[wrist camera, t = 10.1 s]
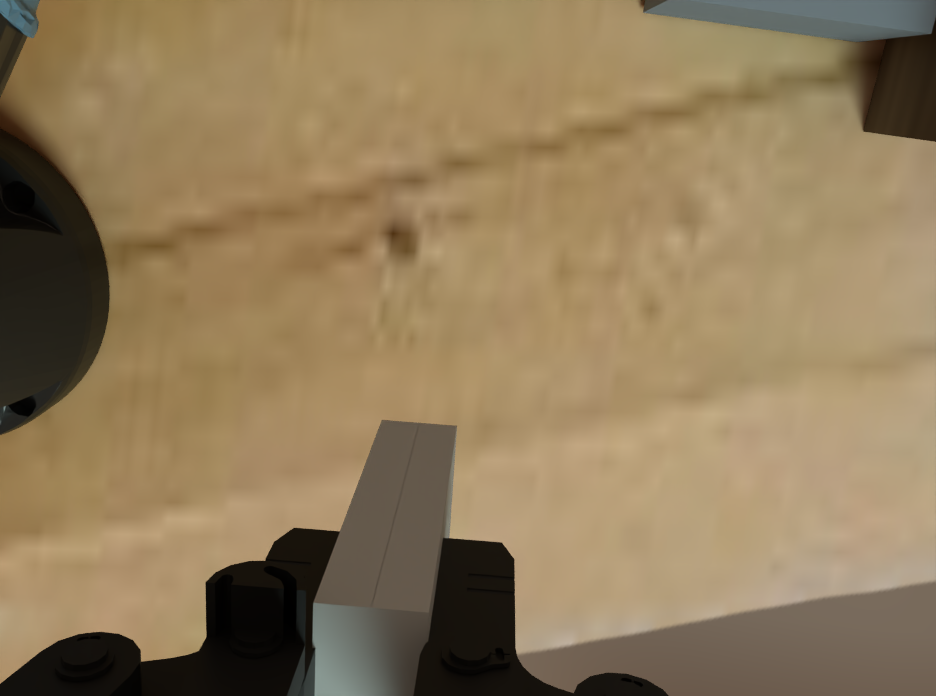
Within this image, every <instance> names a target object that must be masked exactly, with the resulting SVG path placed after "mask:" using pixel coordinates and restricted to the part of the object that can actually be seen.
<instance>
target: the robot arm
mask: <svg viewBox="0 0 936 696" xmlns="http://www.w3.org/2000/svg"><path fill="white" fill-rule="evenodd" d="M39 1H40V0H0V97H1V95H2V92H3V90H4V88H5V86H6V83H7V81H8V79H9V77H10V75H11V72H12V70H13V68H14V66H15V63H16V61H17V59H18V57H19V54H20V52H21V50H22V48H23V45H24V43H25V41H26V39H27V36H28V37H31V38H34V36H35V34H36V32H37V29H38V23H39V21H38V19H37V17H36V10H37V7H38V4H39ZM108 312H109V280H108V272H107V266H106V261H105V257H104V253H103V250H102V246H101V243H100V240H99V238H98V235H97V233H96V230H95V228H94V225H93V223H92V221H91V219H90V217H89V215H88V213H87V212H86V210H85V208H84V206H83V205H82V203H81V201H80V200H79V198H78V197H77V195H76V194H75V192H74V191H73V190H72V189H71V187H70V186H69V185H68V183H67V182H66V181H65V180H64V179H63V177H62V176H61V175H60V174H59V173H58V172H57V171H56V170H55V169H54V168H53V167H52V166H51V165H50V164H49V163H48V162H47V161H46V160H45V159H44V158H43V157H42V156H40V155H39V154H38V153H37V152H36V151H34V150H33V149H32V148H30V147H29V146H28V145H26V144H25V143H23V142H22V141H20V140H19V139H18V138H16V137H14V136H13V135H11V134H9V133H7V132H6V131H4V130H2V129H0V435H2V434H5V433H8V432H10V431H12V430H15V429H17V428H19V427H21V426H23V425H25V424H27V423H28V422H30V421H32V420H33V419H35V418H36V417H38V416H39V415H41V414H42V413H44V412H45V411H46V410H48V409H49V408H51V407H52V406H53V405H55V404H56V403H58V402H59V401H60V400H61V399H63V398H64V397H65V396H66V395H67V394H68V393H69V392H71V391H72V390H73V389H74V388H75V386H76V385H77V384H78V383H79V382H80V381H81V380H82V378H83V377H84V375H85V374H86V373H87V371H88V370H89V368H90V366H91V365H92V363H93V361H94V359H95V357H96V355H97V353H98V351H99V348H100V346H101V343H102V340H103V337H104V333H105V329H106V325H107V319H108ZM456 432H457V426H452V425H439V424H426V423H414V422H401V421H389V420H382V421H381V424H380V426H379V429H378V432H377V434H376V437H375V440H374V442H373V445H372V448H371V450H370V453H369V456H368V458H367V461H366V464H365V466H364V469H363V472H362V474H361V477H360V480H359V482H358V485H357V488H356V490H355V493H354V496H353V498H352V501H351V504H350V506H349V509H348V512H347V514H346V517H345V520H344V522H343V525H342V528H341V530H340V532H339V531H327V530H315V529H302V528H293V529H292V530H290V531H289V532H288V533H286V534H285V535H283V536H282V537H280V538H279V539H278V540H276V541H275V542H274V543H273V545H272V547H271V549H270V551H269V553H268V555H267V557H266V561H248V562H243V563H239V564H234V565H230V566H228V567H226V568H224V569H222V570H220V571H218V572H216V573H215V574H214V575H213V576H212V577H211V578H210V579H209V580H208V581H207V582H206V630H207V637H206V639H205V641H204V643H203V645H202V646H201V648H200V650H199V651H198V652H195V653H192V654H189V655H185V656H180V657H175V658H168V659H160V660H152V661H144V662H141V651H140V649H139V648H138V646H137V645H136V644H135V642H134V641H133V640H131V639H129V638H127V637H124V636H122V635H120V634H114V633H105V632H93V633H85V634H78V635H75V636H72V637H69V638H66V639H63V640H60V641H58V642H56V643H54V644H53V645H51V646H49V647H48V648H46V649H44V650H43V651H41V652H40V653H38V654H37V655H36V656H35V657H33V658H32V659H31V660H30V661H28V662H27V663H26V664H25V665H23V666H22V667H21V668H20V669H18V670H17V671H16V672H15V673H13V674H12V675H11V676H10V677H8V678H7V679H6V680H5V681H3V682H2V683H1V684H0V696H668V695H667V694H666V692H665V691H664V690H663V689H661V688H659V687H658V686H656V685H654V684H652V683H651V682H649V681H647V680H645V679H642V678H639V677H635V676H632V675H629V674H618V673H604V674H599V675H594V676H590V677H589V678H587V679H586V680H584V681H583V682H581V683H580V684H578V685H577V687H576V690H575V692H574V693H571V692H567V691H565V690H561V689H558V688H556V687H553V686H551V685H548V684H546V683H543V682H542V681H540V680H539V679H537V678H535V677H534V676H532V675H531V674H530V673H529V672H528V671H527V670H526V669H525V668H524V667H523V666H522V665H521V663H520V662H519V659H518V657H517V654H516V649H515V595H514V594H515V581H514V558H513V557H512V556H511V554H510V553H509V552H508V550H507V549H506V548H505V546H504V545H503V544H502V543H500V542H488V541H475V540H463V539H451V538H449V534H450V519H451V505H452V490H453V476H454V461H455V447H456Z"/></svg>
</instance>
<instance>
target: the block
mask: <svg viewBox="0 0 936 696" xmlns="http://www.w3.org/2000/svg"><path fill="white" fill-rule="evenodd" d="M643 13H650V14H657V15H664V16H672V17H679V18H686V19H693V20H701V21H708V22H715V23H722V24H730V25H737V26H744V27H751V28H759V29H766V30H773V31H780V32H788V33H795V34H802V35H809V36H817V37H824V38H831V39H838V40H846V41H853V42H862V41H871V40H880V39H889V38H898V37H907V36H916V35H925V34H931V33H932V29H933V25H934V22H935V18H936V0H645V4H644V10H643Z"/></svg>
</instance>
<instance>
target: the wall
mask: <svg viewBox="0 0 936 696" xmlns="http://www.w3.org/2000/svg"><path fill="white" fill-rule="evenodd" d="M864 132H871V133H878V134H885V135H892V136H899V137H906V138H914V139H921V140H928V141H935V142H936V18H935V22H934V25H933V29H932V33H931V34H925V35H916V36H907V37H898V38H889V39H887V40H886V44H885V48H884V52H883V56H882V60H881V64H880V68H879V72H878V76H877V80H876V84H875V88H874V92H873V96H872V100H871V104H870V108H869V112H868V116H867V119H866V123H865V127H864Z"/></svg>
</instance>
